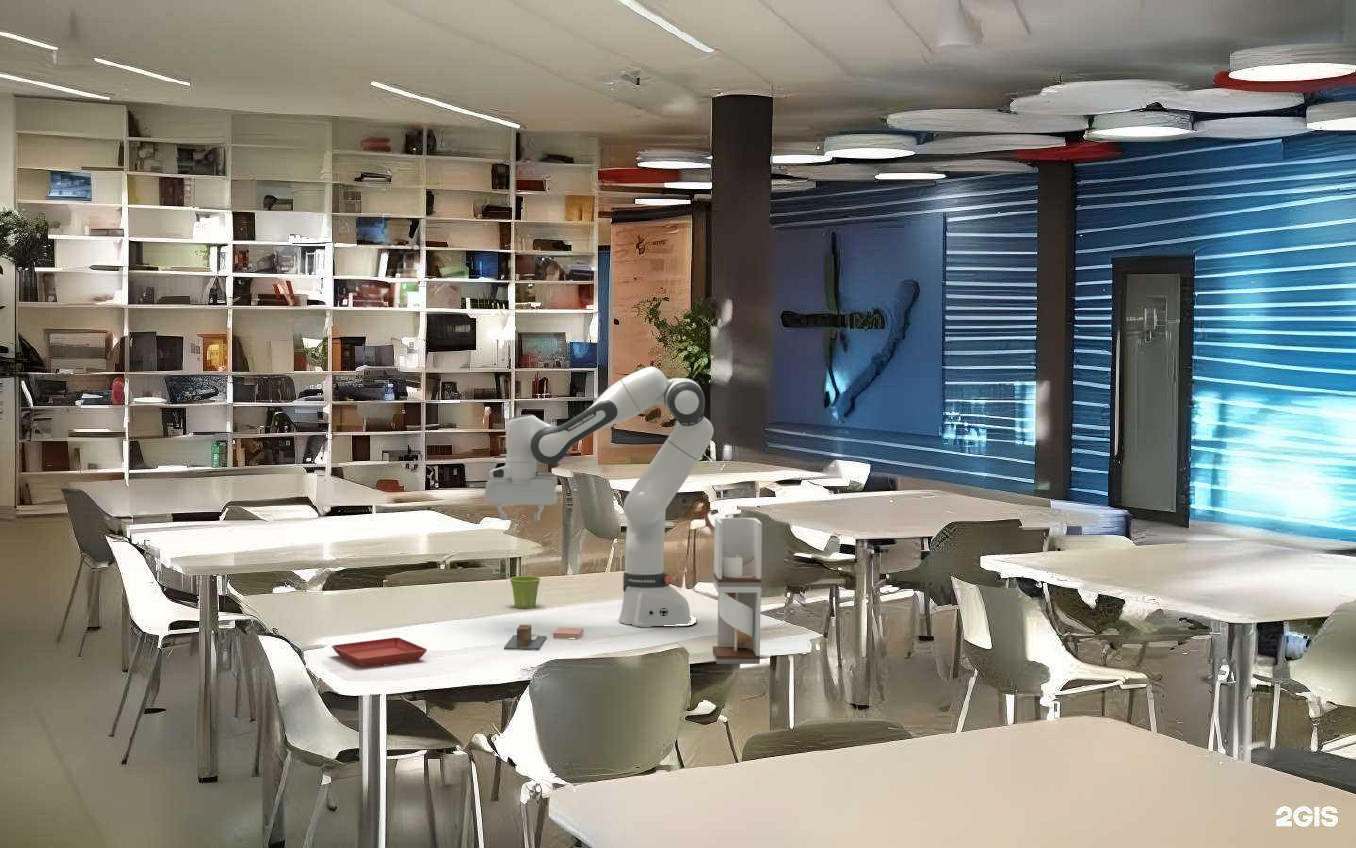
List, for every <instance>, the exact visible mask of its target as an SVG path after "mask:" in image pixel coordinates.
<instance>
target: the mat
mask: <svg viewBox="0 0 1356 848" xmlns="http://www.w3.org/2000/svg"><path fill="white" fill-rule="evenodd" d="M516 639H517V634H513V635H512V636H511V637H510V639H508V641H507V643H506V644H505V645H504V647H503V650H504V649H509V650H510V649H512V651H513V649H522V650H521V651H539V650H541V648H542V646H543V644H544V643H545V641H546V640H547V639H548V637H547V635H539V637H538V638H537V640H536V641H535V642H531V643H530V645H529V646H528V647H527V646H517V642H516ZM545 639H546V640H545ZM540 647H541V648H540ZM531 649H533V650H531ZM534 649H535V650H534Z"/></svg>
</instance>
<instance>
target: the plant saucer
mask: <svg viewBox="0 0 1356 848" xmlns="http://www.w3.org/2000/svg"><path fill="white" fill-rule="evenodd" d="M331 648H332V649H333V650H334V652H335V653H336V654H337V655H338V656H339V657H340V658H342V659H344V660H346V661H348V662H351V663H352V664H354V665H356V666H359V667H361V668H370V667H371V666H373V667H378V666H377V665H380V666H385V665H384V664H388V665H393V664H392V663H396V664H399V663H398V662H404V663H410V662H409V661H413V662H417V661H416V660H418V661H419V660H420V659H421V658H422V657H423V656H424V655H425V654H426V652H427V651H428V649H427V648H426V647H425V648H424V646H420V645H418V644H416V643H414V642H411V641H408V640H406V639H403V638H402V637H401V638H400V637H388V638H381V639H380V638H379V639H373V640H365V641H357V642H348V643H341V644H333V645H331ZM371 668H372V667H371Z"/></svg>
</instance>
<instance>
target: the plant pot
mask: <svg viewBox="0 0 1356 848" xmlns="http://www.w3.org/2000/svg"><path fill="white" fill-rule="evenodd" d="M541 580H542V578H541V577H539V576H532V575H524V576H523V575H522V576H520V575H519V576H512V577H510V578H509V581H510V583H511V586H512V593H513V600H514V606H515V608H517V609H524V608H526V609H531V608H532V609H533V608H535V607H536V605H537V598H538V597H537V596H538V591H539V590H538V589H539V585H540V582H541Z"/></svg>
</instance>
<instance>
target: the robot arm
mask: <svg viewBox="0 0 1356 848" xmlns="http://www.w3.org/2000/svg"><path fill="white" fill-rule="evenodd" d="M704 394H705V393H704V392H703V390H702V388H701V386H700V385H699V384H698V382H696V381H694V380H693V379H691V378H689V377H684V376H678V377H677V376H674V377H673V376H672V377H667V376H666V375H665V374H664V372H662V370H661V369H659V368H658V367H655V366H646V367H644V368H641V369H639V370H636V371H635V372H632V373H631V374H628V375H626V376H625V377H623V378H621V379H619V380H618V381H616V382H615V383H614V384H613V383H612V385H611V386H609V387H608V388H607V389H606V390H604V391H603V393H601V394H600V395H599V396H598V398H597V399H596V400H595V401H594V403H592V404H591V406H590V407H588V408H587V409H586V410H584V411H583V412H581V413H580V414H578V415H576V416H575V417H573V418H571V419H570V420H568V421H566V422H565V423H562V424H560V425H558V426H555V425H552V424H550V423H547V422H545V421H543V420H541V418H538V417H537V416H536V415H534V414H533V413H532V414H531V413H527V414H520V415H515V416H513V417H511V418H510V419H509V420H508V421H507V424H506V431H505V449H506V456H505V464H504V465H503V466H502V465H501V466H499V467H497V468H493V469H491V470H490V471H488V476H489V478H490V479H487V481H486V483H485V484H486V485H485V490H484V502H485V503H486V504H487V505H496V509H497V510H498V512H499V515H500V520H501V521H507V520H508V513H505V512H504V510H503V509H502V508H504V505H521V506H522V505H524V506H525V505H526V506H528V505H529V506H530V505H531V506H532V505H533V506H534V505H535V506H537V509H538V512H537V513H534V514H533V517H534V518H533V520H534V521H533V522H540V521H541V514H542V512H543V510H544V509H545V506H553V505H555V504H556V502H557V500H558V498H557V490H556V488H557V486H558V477H557V475H556V474H555V473H553V472H550V471H548V472H545V471H537V469H538V468H537V463H538V462H539V463H541V464H544V465H554V464H557V463H559V462H560V461H561V460H562V459H563V458H564V457H565V456H566V454H567V453H568V451H569V450H570V449H571V447H573V446H574V445H575V444H577V443H578V442H580V441H581V440H583V439H585V438H586V437H588V436H590V435H591V434H593V433H594V432H596V431H598V430H600V429H602V428H603V429H604V428H606V427H609V426H612V425H617V424H620V423H622V422H626V421H628V420H630V419H633V418H635V417H636V416H638V415H640V414H642V413H643V412H645V411H647V410H648V409H649V408H652V407H654V406H659V405H662V406H665V408H666V409H667V410H668V412H670V414H671V415H672V416H673V417H674V418H675V419H676V422H675V426H674V428H673V430H672V432H671V433H670V434H669V436H667V438H666V440H665V441H664V443H663V444H662V446H661V447H660V449H659V450H658V452H657V453H656V455H655V456H654V458H653V459H652V460H651V461H650V464H649V465H648V466H647V467H646V469H645V470H644V471H643V473H642V474H641V476H640V477H639V478H638V480H637V481H636V482H635V484H634V485H633V487H632V488H631V490H630V491H629V493H628V494H627V496H626V497H625V498H624V503H623V512H624V515H625V517H626V518H627V521H626V523H627V524H626V533H625V542H624V543H625V544H624V572H623V576H622V590H623V598H622V599H623V600H622V604H621V610H620V614H619V618H618V622H619V623H622V624H625V625H630V624H632V625H631V626H635V627H638V626H639V628H652V627H651V626H664V625H676V624H688V623H691V622H689V621H691V617H690V615H691V611H690V606H689V602H688V600H687V599H686V597H685V596H683V595H682V594H681V593H679V591H677V590H676V589H674V588H673V587H672V586H671V582H672V577H671V575H670V574H669V573H666V572H664V558H665V557H664V553H665V552H664V547H665V546H664V544H665V529H666V509H668V506H669V505H670V504H671V502H672V501H673V499H674V497H675V496H676V495H677V494H678V492H679V490H680V489H681V487H682V486H683V485H684V483H685V482H686V480H688V477H689V476H690V475H691V473H692V471H693V470H694V469H695V467H696V466H697V464H698V463H699V461H700V460H701V458H702V457H703V455H704V453H705V452H706V450H707V448H708V446H709V445H710V442H711V440H712V438H713V435H714V431H715V430H714V427H713V424H712V422H711V421H710V420H709V419H708V418H706V417H705V416H704V415H705V405H706V399H705V395H704Z"/></svg>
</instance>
